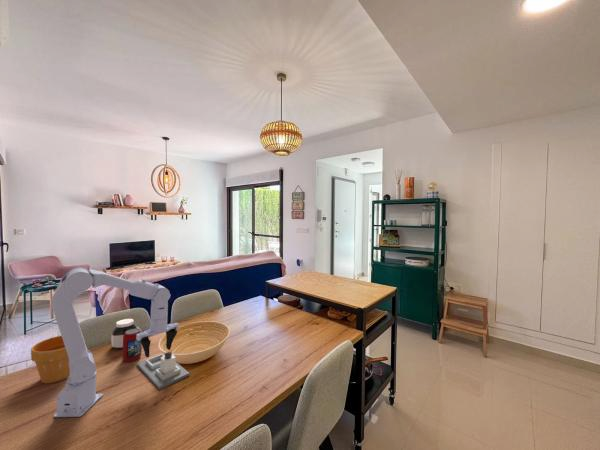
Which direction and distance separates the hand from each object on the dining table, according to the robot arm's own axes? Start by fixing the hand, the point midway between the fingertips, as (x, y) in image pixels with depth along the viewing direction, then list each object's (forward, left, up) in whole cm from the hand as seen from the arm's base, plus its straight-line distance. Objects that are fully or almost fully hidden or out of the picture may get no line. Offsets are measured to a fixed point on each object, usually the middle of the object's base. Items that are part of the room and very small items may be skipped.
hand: (158, 352), depth 96 cm
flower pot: (+1, +37, -10) cm, 38 cm away
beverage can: (+13, +17, -10) cm, 23 cm away
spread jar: (+26, +27, -10) cm, 38 cm away
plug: (0, -4, -8) cm, 9 cm away
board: (+4, 0, -9) cm, 10 cm away
